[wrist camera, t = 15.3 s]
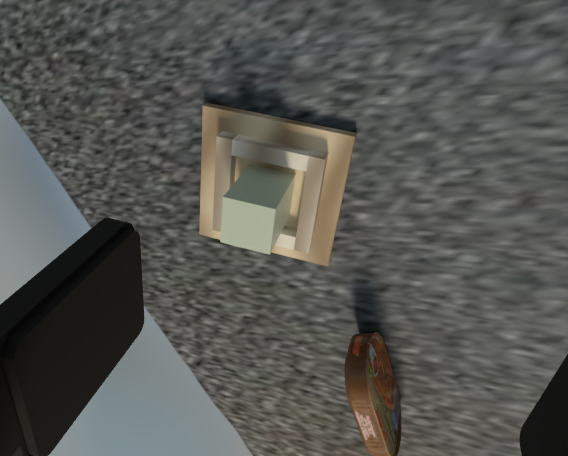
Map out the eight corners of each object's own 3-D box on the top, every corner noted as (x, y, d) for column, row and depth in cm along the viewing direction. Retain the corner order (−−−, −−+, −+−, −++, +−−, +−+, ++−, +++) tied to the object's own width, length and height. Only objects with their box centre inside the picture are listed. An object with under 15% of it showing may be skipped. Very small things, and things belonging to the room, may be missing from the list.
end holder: (356, 132, 41) (352, 142, 39) (329, 261, 49) (325, 274, 47) (207, 102, 43) (196, 110, 41) (203, 229, 51) (193, 241, 49)
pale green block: (295, 174, 44) (275, 209, 38) (289, 215, 46) (269, 254, 40) (249, 164, 44) (222, 196, 38) (245, 205, 47) (220, 242, 41)
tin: (404, 412, 57) (401, 476, 50) (378, 412, 58) (372, 475, 51) (377, 315, 51) (369, 373, 44) (349, 317, 52) (337, 374, 45)
